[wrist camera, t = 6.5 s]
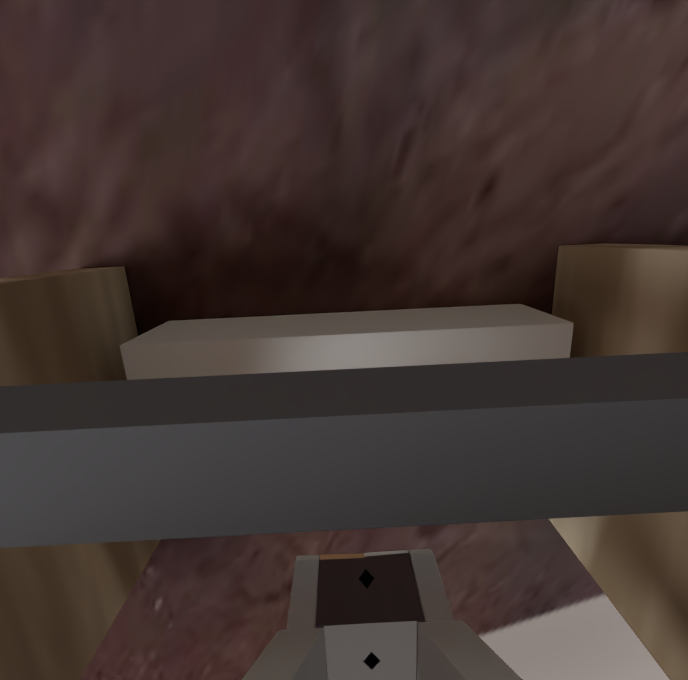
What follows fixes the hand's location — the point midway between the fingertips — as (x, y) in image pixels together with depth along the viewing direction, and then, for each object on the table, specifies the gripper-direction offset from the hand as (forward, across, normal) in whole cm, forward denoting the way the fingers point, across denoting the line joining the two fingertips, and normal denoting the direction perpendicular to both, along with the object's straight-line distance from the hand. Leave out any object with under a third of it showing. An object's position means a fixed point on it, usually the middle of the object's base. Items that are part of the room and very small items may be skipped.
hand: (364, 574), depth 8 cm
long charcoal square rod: (-1, 0, -4) cm, 5 cm away
